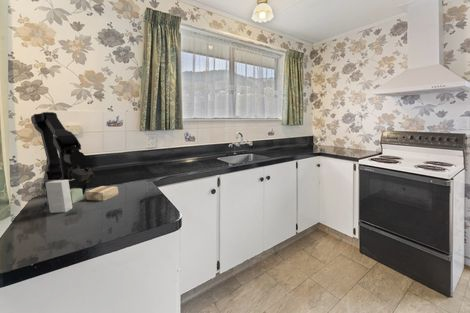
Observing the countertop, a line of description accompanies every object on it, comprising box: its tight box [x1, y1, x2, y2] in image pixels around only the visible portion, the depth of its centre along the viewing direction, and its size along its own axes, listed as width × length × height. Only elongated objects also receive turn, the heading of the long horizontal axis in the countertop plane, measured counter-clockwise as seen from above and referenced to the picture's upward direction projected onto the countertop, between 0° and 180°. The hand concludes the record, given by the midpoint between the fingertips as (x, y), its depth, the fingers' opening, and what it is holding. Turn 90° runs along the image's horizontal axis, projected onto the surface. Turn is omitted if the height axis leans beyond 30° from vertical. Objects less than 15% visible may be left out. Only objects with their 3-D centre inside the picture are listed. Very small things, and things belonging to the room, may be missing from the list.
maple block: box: [85, 185, 119, 202], centre depth 105 cm, size 9×9×4 cm
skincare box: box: [45, 180, 73, 214], centre depth 88 cm, size 6×4×12 cm
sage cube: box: [70, 187, 84, 204], centre depth 100 cm, size 5×5×5 cm
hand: (73, 198), depth 100 cm, fingers open, 9 cm apart
